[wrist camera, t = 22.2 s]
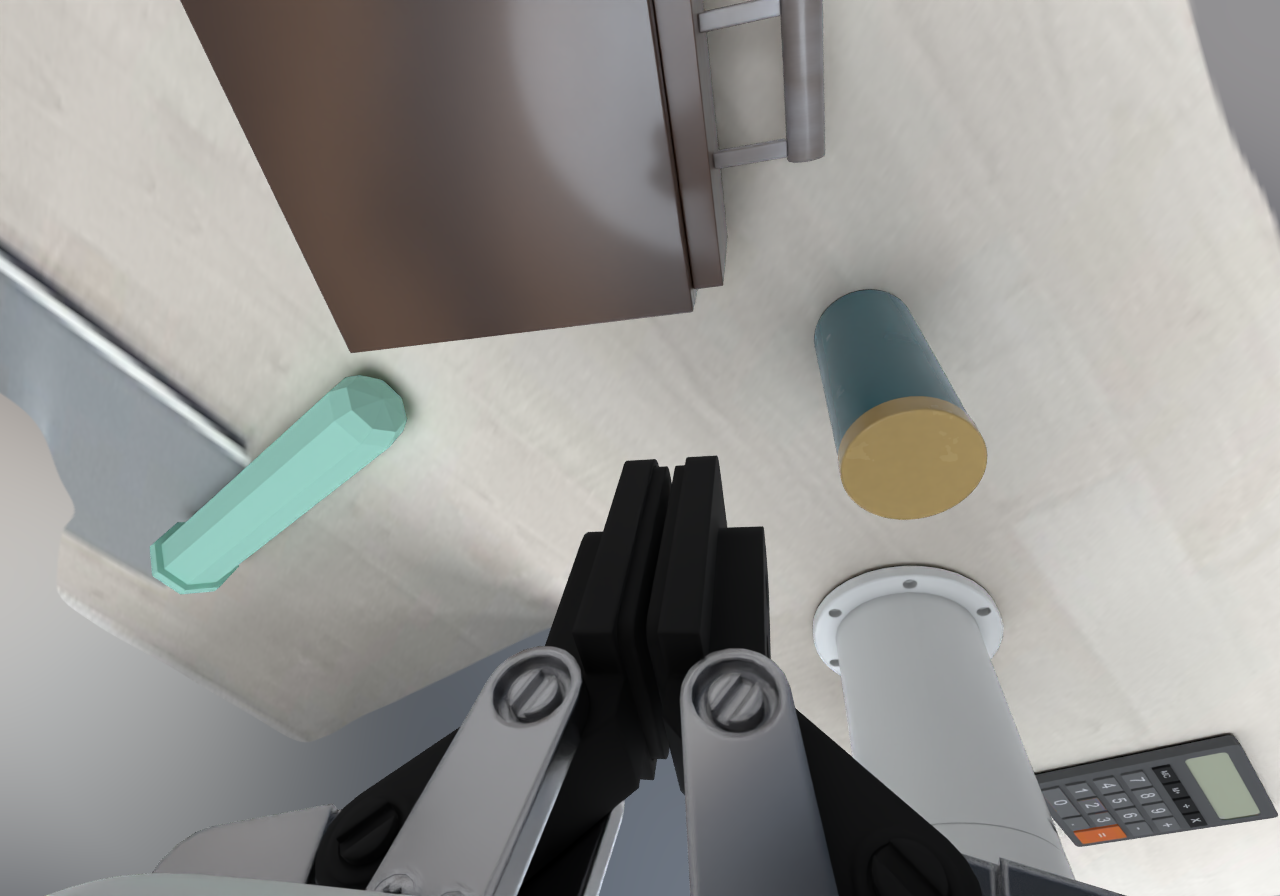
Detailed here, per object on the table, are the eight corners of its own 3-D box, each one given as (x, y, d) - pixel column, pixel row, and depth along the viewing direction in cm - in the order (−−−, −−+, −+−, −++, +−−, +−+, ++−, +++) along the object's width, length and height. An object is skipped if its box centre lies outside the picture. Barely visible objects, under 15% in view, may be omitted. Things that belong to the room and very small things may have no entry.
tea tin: (911, 372, 33) (979, 517, 24) (814, 381, 34) (841, 523, 25) (917, 282, 31) (996, 403, 21) (811, 295, 32) (840, 415, 22)
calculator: (1027, 788, 52) (1241, 746, 45) (1023, 777, 52) (1233, 734, 46) (1077, 849, 56) (1281, 819, 49) (1073, 838, 57) (1272, 807, 50)
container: (325, 413, 33) (134, 583, 44) (420, 458, 37) (222, 604, 48) (345, 339, 36) (164, 513, 47) (429, 387, 40) (244, 538, 51)
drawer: (807, -144, 22) (828, -200, 16) (817, 224, 29) (833, 271, 23) (353, -19, 26) (247, -31, 20) (457, 276, 33) (399, 327, 27)
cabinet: (660, -120, 23) (623, -181, 16) (705, 247, 31) (693, 312, 24) (313, -22, 27) (160, -38, 20) (430, 287, 34) (350, 354, 27)
